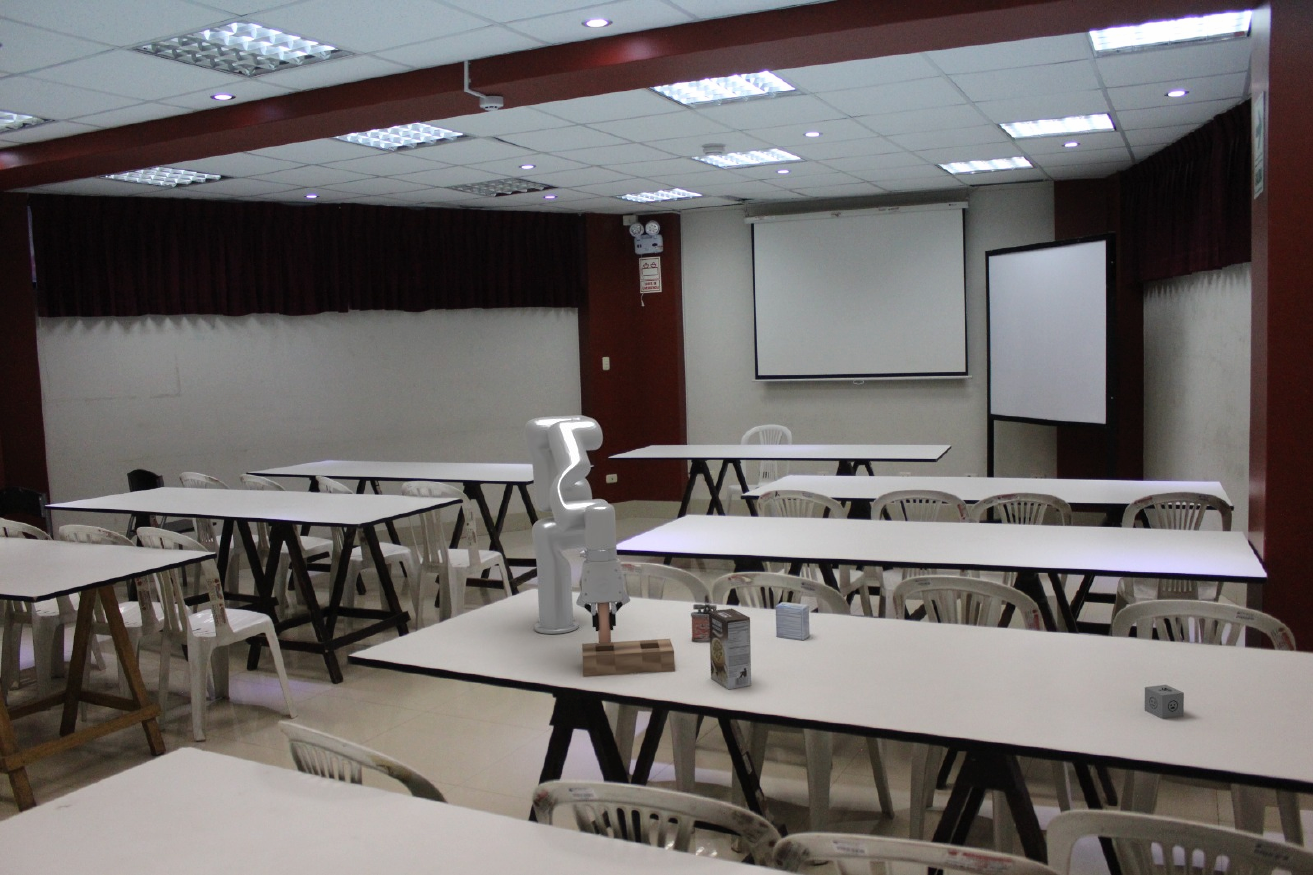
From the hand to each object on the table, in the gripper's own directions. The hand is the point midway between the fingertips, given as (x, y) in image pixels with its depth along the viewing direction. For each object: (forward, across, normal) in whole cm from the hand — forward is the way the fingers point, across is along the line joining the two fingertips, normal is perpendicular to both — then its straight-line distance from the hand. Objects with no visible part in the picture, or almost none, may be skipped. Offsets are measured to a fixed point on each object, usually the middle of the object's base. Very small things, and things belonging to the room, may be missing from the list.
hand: (604, 628), depth 237 cm
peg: (+3, 0, 0) cm, 3 cm away
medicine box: (+10, +50, +17) cm, 54 cm away
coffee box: (+10, +28, -15) cm, 34 cm away
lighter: (+10, +27, +18) cm, 34 cm away
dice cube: (+11, +112, -49) cm, 123 cm away
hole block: (+10, +5, 0) cm, 11 cm away
